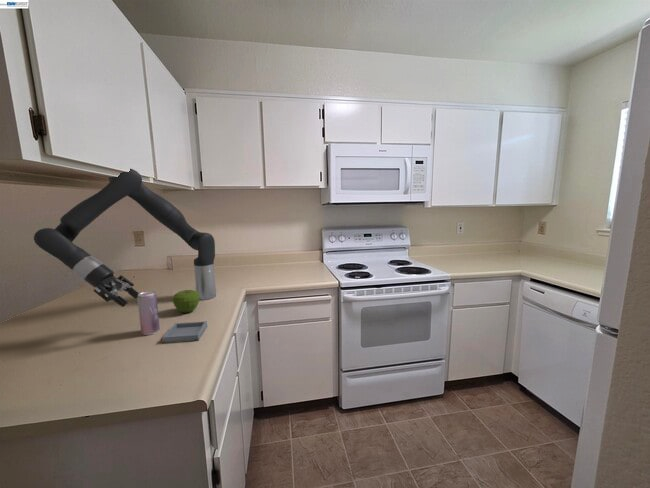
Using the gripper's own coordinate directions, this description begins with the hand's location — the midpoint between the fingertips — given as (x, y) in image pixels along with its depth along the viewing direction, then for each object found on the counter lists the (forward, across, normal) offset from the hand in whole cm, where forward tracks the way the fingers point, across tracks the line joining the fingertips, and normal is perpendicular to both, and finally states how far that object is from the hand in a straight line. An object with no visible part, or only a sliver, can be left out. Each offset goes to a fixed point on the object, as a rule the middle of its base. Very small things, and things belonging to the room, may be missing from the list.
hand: (132, 300), depth 102 cm
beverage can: (+13, 0, +5) cm, 14 cm away
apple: (+18, +19, 0) cm, 26 cm away
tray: (+22, -4, -5) cm, 23 cm away
